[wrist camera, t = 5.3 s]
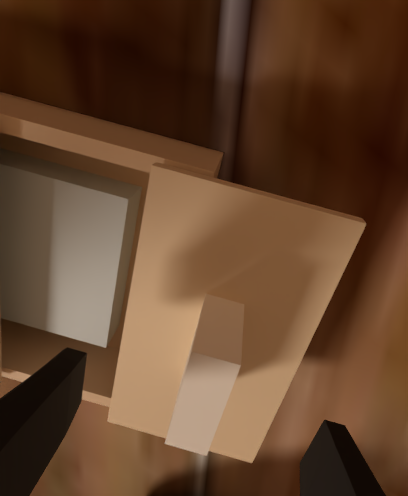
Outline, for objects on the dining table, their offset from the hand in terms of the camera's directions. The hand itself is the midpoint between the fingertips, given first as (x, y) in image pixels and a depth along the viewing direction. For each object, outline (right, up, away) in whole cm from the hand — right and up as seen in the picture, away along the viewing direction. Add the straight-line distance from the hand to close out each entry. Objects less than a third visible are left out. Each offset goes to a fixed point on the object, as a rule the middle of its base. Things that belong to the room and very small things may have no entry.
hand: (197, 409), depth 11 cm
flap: (+1, +2, +3) cm, 4 cm away
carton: (-7, +5, +7) cm, 11 cm away
